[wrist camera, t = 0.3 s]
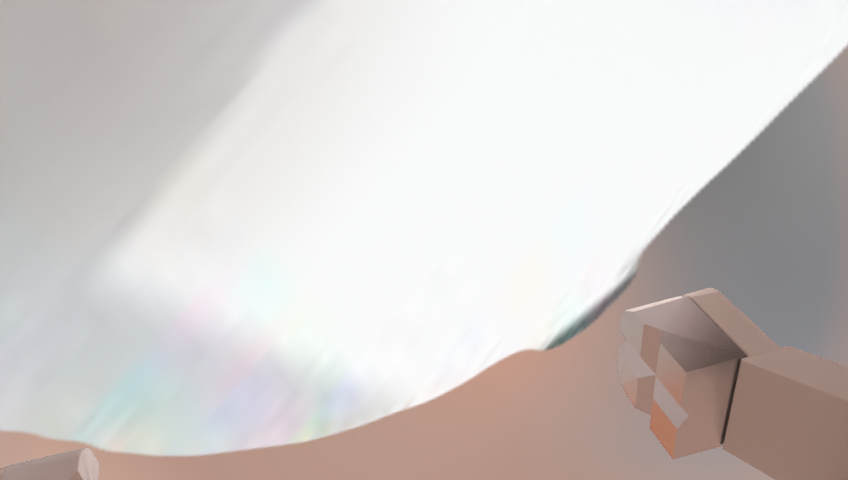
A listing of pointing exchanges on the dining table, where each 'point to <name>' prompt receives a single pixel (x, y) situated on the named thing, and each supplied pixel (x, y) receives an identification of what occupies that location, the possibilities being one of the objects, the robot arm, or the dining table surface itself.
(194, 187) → the dining table surface
